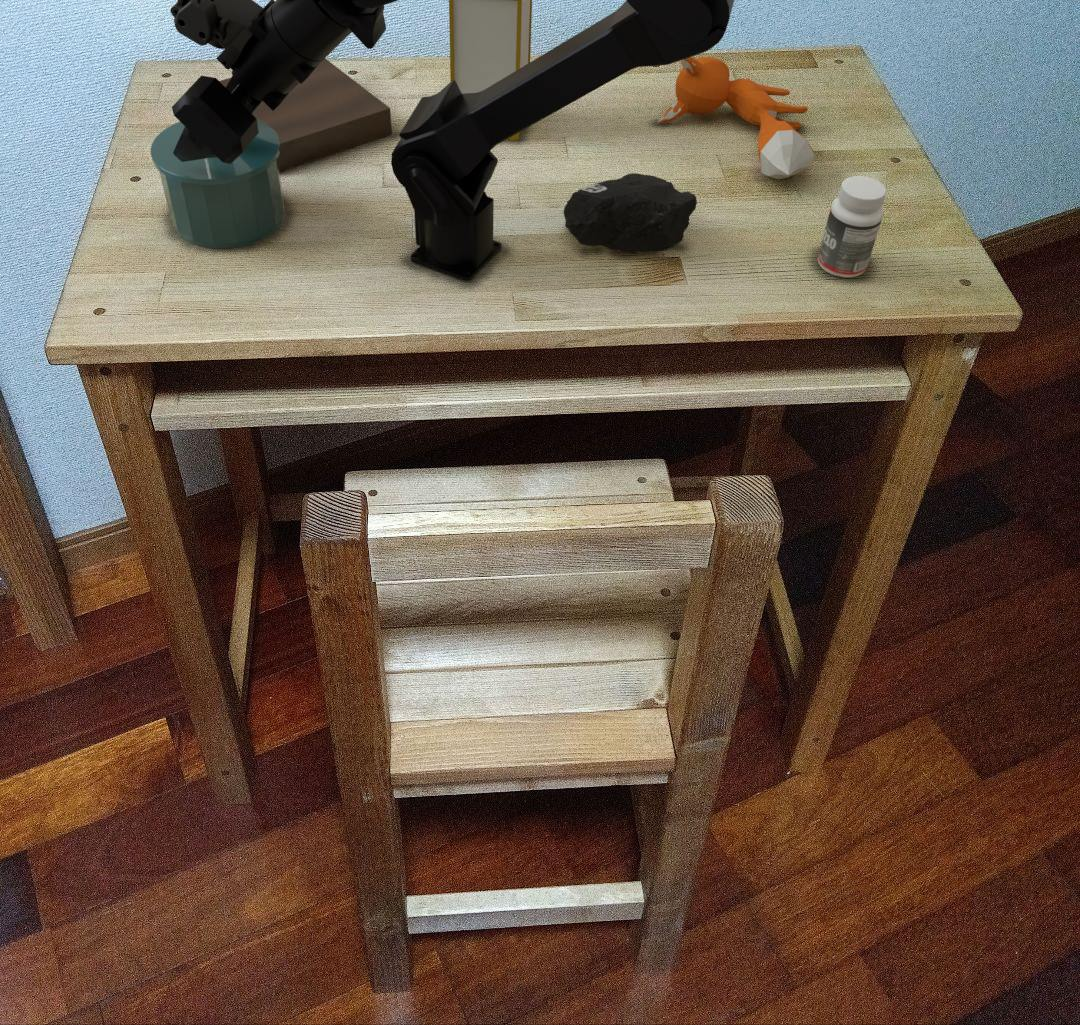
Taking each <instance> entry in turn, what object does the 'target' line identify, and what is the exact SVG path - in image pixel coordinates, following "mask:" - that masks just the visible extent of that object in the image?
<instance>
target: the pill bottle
mask: <svg viewBox="0 0 1080 1025" xmlns="http://www.w3.org/2000/svg"><path fill="white" fill-rule="evenodd" d="M886 194H887V188H886V186H885V185H884V184H883V183H882V182H881V181H880V180H878V179H875V178H873V177H870V176H866V175H853V176H849V177H846V178H845V179H844V180H843V181H842V183H841V185H840V189H839V191H838V196H836V198H835V199H834V200H832V203H831V205H830V209H829V213H828V217H827V221H826V224H825V228H824V232H823V236H822V239H821V243H820V247H819V251H818V254H817V262H818V265H819V267H820V268H821V269H822V270H824V271H825V272H826V273H828V274H830V275H833V276H837V277H841V278H856V277H858V276H861V275H862V274H864V273H865V272H866V271H867V268H868V266H869V263H870V259H871V256H872V252H873V249H874V246H875V244H876V240H877V237H878V234H879V230H880V227H881V225H882V224H881V223H882V221H883V217H884V209H883V205H884V203H885V199H886Z"/></svg>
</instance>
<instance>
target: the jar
mask: <svg viewBox="0 0 1080 1025" xmlns="http://www.w3.org/2000/svg"><path fill="white" fill-rule="evenodd" d="M158 171H159V170H158ZM280 173H281V172H279V165H278V159H277V160H276V161H275V162H274V163H273V165H271V166H270V167H269V168H268V169H266V170H265V171H263V172H262V173H260V174H258V175H256V176H253V177H251V178H248V179H245V180H242V181H238V182H234V183H228V184H220V185H196V184H189V183H184V182H180V181H177V180H174V179H172V178H169V177H167V176H166V175H164V174H162V173H161V172H160V171H159V175H160V180H161V184H162V188H163V194H164V197H165V201H166V205H167V210H168V214H169V218H170V222H171V223H172V226H173V229H174V231H175V232H176V234H177V235H178V236H179V237H180V238H182V239H183V240H184V241H186V242H188V243H190V244H193V245H196V246H198V247H201V248H208V249H218V250H219V249H222V250H223V249H226V250H227V249H235V248H242V247H246V246H247V247H248V246H250V245H253V244H256V243H259V242H261V241H264V240H265V239H267V238H269V237H270V236H272V235H273V234H274V233H275V232H277V231H278V230H279V228H280V227H281V226H282V224H283V223H284V219H285V215H286V213H285V201H284V195H283V194H284V193H283V187H282V181H281V180H282V179H281V174H280Z"/></svg>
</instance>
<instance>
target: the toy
mask: <svg viewBox="0 0 1080 1025" xmlns="http://www.w3.org/2000/svg"><path fill="white" fill-rule="evenodd" d="M680 61H681V66H682V68H681V69H680V71H679V73H678V75H677V77H676V79H675V97H676V100H674V102H673V103H672V104H671V105H670V106H669V108H668V109H667V110H665V111H666V112H664V114H663V115H662V116H661V118H659V120H658V121H657V124H666V123H670V122H674V121H676V120H678V119H680V118H681V117H683V116H685V115H686V114H691V115H698V116H700V115H701V116H702V115H707V114H710V113H713V112H715V111H717V110H718V109H719V108H721V107H722V106H723V105H724V104H725V103H726V104H727V105H728V106H729V107H730V109H731V110H732V111H733V112H734V113H735V115H737V116H738V117H740V118H741V119H743V120H744V121H746V122H748V123H750V124H751V125H755V126H760V130H759V134H758V138H757V153H758V158H759V165H760V173H761V174H763V175H765V176H767V177H770V178H773V179H775V180H782V179H787V178H790V177H792V176H794V175H796V174H798V173H801V172H803V171H805V170H806V169H808V167H809V166H810V165H811V164H812V163H814V161H815V153H814V149H813V147H812V146H811V145H810V143H809V141H808V139H807V138H805V136H803V135H802V134H801V133H800V132H798V131H797V130H799V129H800V128H801V127H802V124H801V122H800V121H788V120H784V119H782V118H781V117H779V116H778V115H777V114H805V113H807V112H808V108H809V107H808V106H806V105H802V106H801V105H799V106H798V105H792V104H787V103H784V102H779V101H776V100H775V99H773V98H772V97H771V96H777V97H785V96H789V95H790V93H791V91H790V90H789V89H787V88H781V87H774V86H769V85H765V84H760V83H757V82H756V81H753V80H751V79H749V78H736V79H733V80H730V67H729V66H728V65H727V64H726V63H725V61H723V60H721V59H718V58H715V57H711V56H702V57H701V56H700V57H697V58H694V57H693V56H692V57H689V58H686V59H683V60H680Z"/></svg>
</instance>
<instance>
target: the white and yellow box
mask: <svg viewBox="0 0 1080 1025" xmlns="http://www.w3.org/2000/svg"><path fill="white" fill-rule="evenodd" d="M448 16H449V17H448V20H449V21H448V22H449V24H448V25H449V27H448V28H449V66H450V67H449V69H450V70H449V71H450V72H449V73H450V74H449V75H450V76H449V77H450V78H449V79H450V82H451V81H453V80H455V81H456V83H457V85H458V87H459V89H460V91H461V93H462V94H464V93H477V92H480V91H483V90H485V89H486V88H488V87H490V86H491V85H493V84H495V83H497V82H498V81H500V80H502V79H503V78H505V77H507V76H508V75H510V74H512V73H513V72H515V71H517V70H518V69H520V68H522V67H523V66H525V65H527V64H528V63H530V62H531V52H532V50H531V49H532V20H533V19H532V18H533V0H448ZM521 132H522V131H520V132H519V133H517V134H515V135H513V136H512V137H510V138H508V139H507V140H510V141H518V140H519V138H520V134H521Z"/></svg>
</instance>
